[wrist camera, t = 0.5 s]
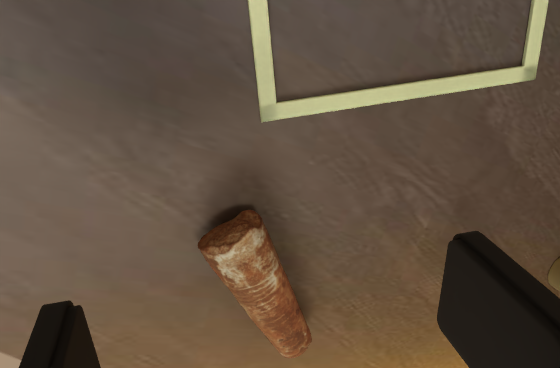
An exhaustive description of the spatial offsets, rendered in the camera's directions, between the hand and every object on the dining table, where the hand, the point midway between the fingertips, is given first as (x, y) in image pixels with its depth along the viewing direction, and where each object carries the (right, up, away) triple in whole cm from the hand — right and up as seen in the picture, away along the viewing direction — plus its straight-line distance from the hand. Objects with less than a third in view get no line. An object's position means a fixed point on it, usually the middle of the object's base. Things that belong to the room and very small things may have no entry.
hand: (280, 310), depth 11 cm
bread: (-2, -7, +36) cm, 36 cm away
